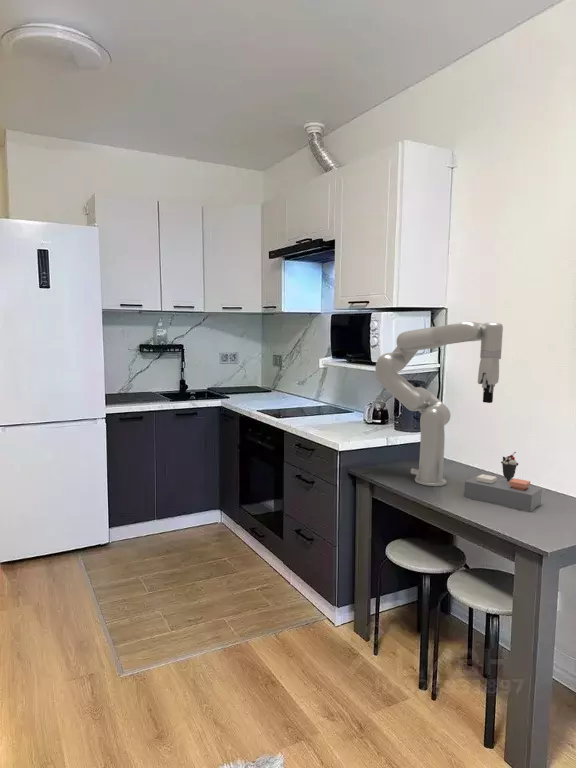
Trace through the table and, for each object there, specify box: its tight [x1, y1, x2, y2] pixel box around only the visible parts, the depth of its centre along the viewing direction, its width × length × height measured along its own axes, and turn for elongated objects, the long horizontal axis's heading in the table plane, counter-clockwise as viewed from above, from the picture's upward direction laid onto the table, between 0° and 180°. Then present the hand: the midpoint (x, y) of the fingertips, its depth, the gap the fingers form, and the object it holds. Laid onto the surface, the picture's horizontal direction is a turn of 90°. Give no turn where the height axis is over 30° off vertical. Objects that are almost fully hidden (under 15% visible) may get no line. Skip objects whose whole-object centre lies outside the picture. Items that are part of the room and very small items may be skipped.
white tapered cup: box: [476, 473, 498, 484], centre depth 202 cm, size 6×6×8 cm
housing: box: [463, 474, 543, 513], centre depth 198 cm, size 24×12×6 cm, turn 49°
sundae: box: [500, 451, 519, 481], centre depth 215 cm, size 7×7×15 cm
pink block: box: [509, 477, 531, 491], centre depth 194 cm, size 6×6×8 cm
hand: (487, 402), depth 207 cm, fingers closed
